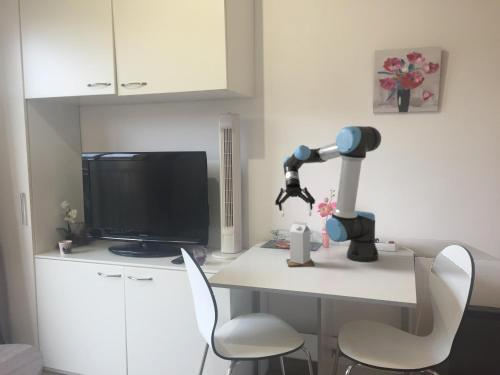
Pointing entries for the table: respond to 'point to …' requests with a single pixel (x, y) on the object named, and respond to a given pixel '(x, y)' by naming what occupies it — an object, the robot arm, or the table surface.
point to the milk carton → (299, 243)
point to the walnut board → (307, 264)
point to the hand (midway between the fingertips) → (296, 215)
